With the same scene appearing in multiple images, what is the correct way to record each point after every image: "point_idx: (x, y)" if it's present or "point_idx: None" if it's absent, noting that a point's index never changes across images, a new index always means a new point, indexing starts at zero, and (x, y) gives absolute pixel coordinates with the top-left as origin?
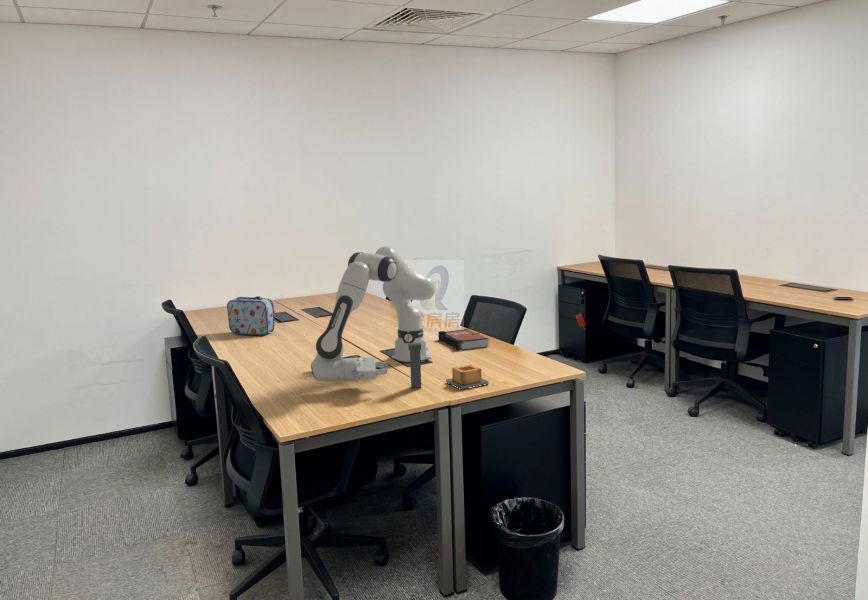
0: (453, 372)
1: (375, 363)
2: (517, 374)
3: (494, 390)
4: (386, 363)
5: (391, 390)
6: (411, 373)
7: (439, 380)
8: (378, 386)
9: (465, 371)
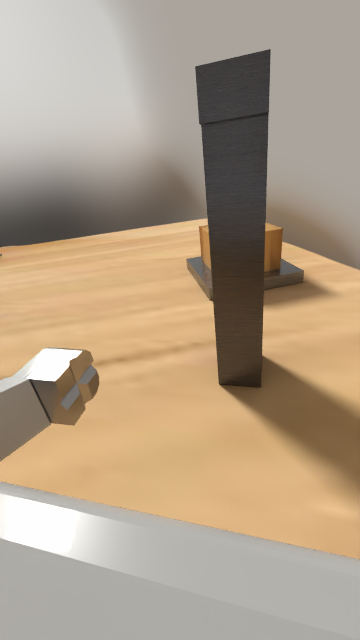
0: None
1: (53, 493)
2: (198, 238)
3: (308, 251)
4: (86, 355)
5: (270, 506)
6: (262, 305)
7: (170, 309)
8: None
9: (271, 226)
